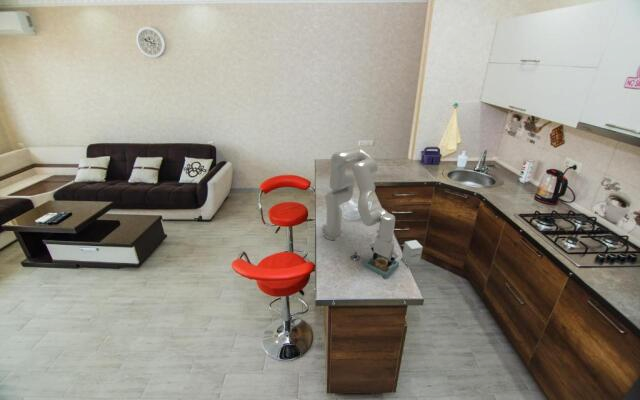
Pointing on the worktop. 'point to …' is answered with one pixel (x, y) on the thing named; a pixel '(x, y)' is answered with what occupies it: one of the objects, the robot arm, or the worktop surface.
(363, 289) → the worktop surface
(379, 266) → the ring
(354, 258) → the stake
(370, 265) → the tray
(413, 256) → the supplement box
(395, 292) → the worktop surface
